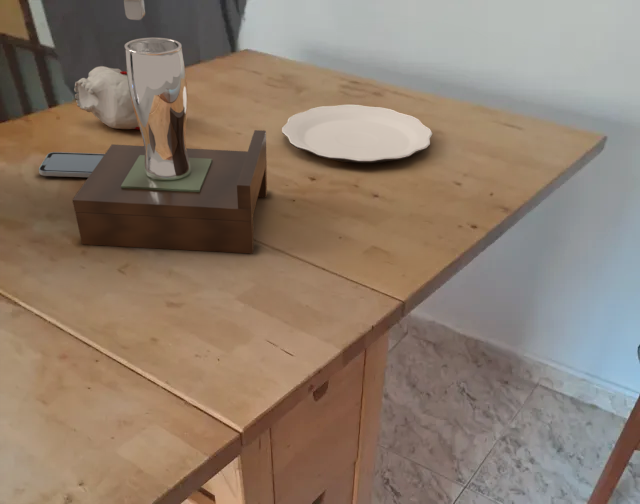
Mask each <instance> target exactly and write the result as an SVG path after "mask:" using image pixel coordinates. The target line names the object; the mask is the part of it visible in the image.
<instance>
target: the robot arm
mask: <svg viewBox="0 0 640 504" xmlns="http://www.w3.org/2000/svg"><path fill="white" fill-rule="evenodd" d="M123 7H124V13H125V17H126V18H127V19H128V20H131V21H141V20H142V19H143V18H144V17H145V15H146V8H145V0H123Z"/></svg>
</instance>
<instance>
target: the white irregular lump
mask: <svg viewBox="0 0 640 504" xmlns="http://www.w3.org/2000/svg"><path fill="white" fill-rule="evenodd" d="M73 90H74V93H76V94H74V98H75V99H76V100H75V103H76V106H77V107H78V108H79V109H80V110H82V111H85V112H87V113H92V114H93V115H94V116H95V118H96V119H98V120H99V121H100V122H101V123H103V124H104V125H106V126H107V127H109V128H111V129H118V130H137V131H140V128H139V124H138V121H137V118H136V115H135V112H134V108H133V105H132V101H131V97H130V92H129V86H128V79H127V71H122V70H121V69H119V68H112V67H107V66H105V65H104V66H103V65H100V66H96V67H94V68H93V69H91V70H90V71H89V72H88V77H87V78H85V77H82V78H80V79H79V80H77V81H75V83H74V88H73Z"/></svg>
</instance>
